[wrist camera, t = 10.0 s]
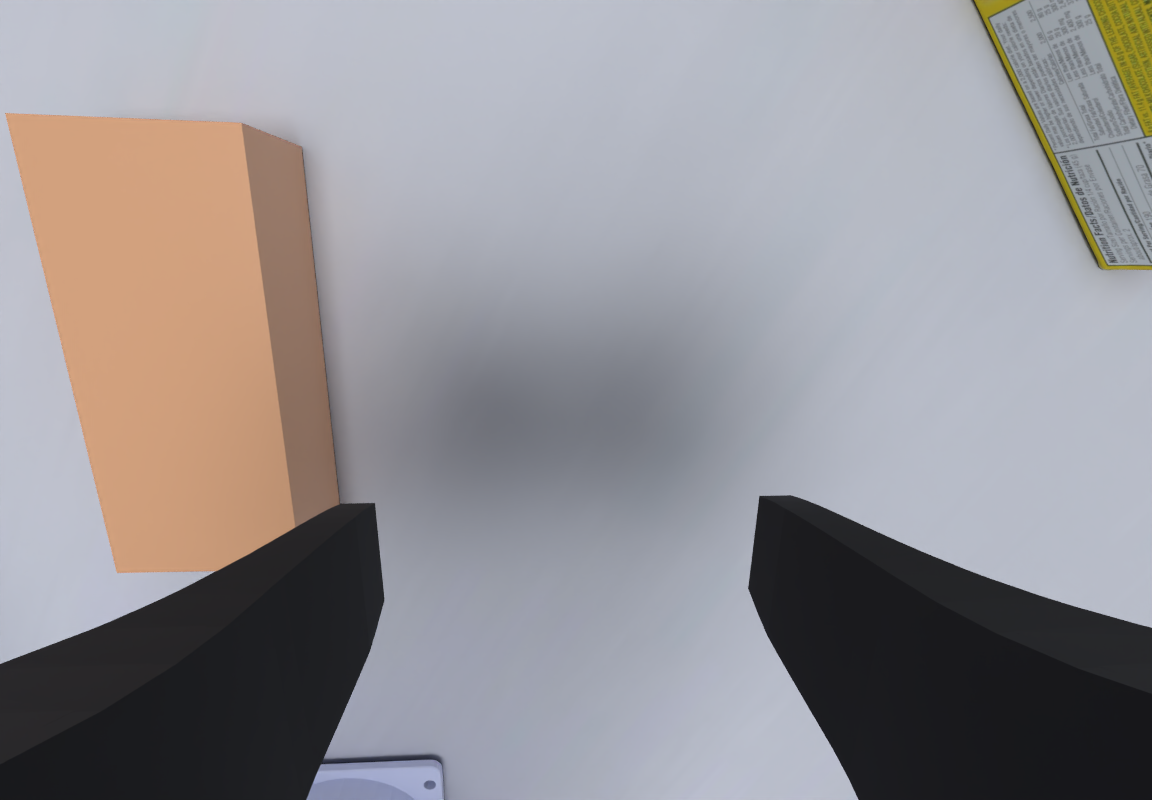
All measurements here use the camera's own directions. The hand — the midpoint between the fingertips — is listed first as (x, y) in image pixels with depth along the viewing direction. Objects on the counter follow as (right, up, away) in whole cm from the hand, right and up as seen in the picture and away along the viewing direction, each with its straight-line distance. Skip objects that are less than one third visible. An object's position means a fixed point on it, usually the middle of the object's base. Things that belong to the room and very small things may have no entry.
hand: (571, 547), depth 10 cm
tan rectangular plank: (-11, +5, +8) cm, 15 cm away
